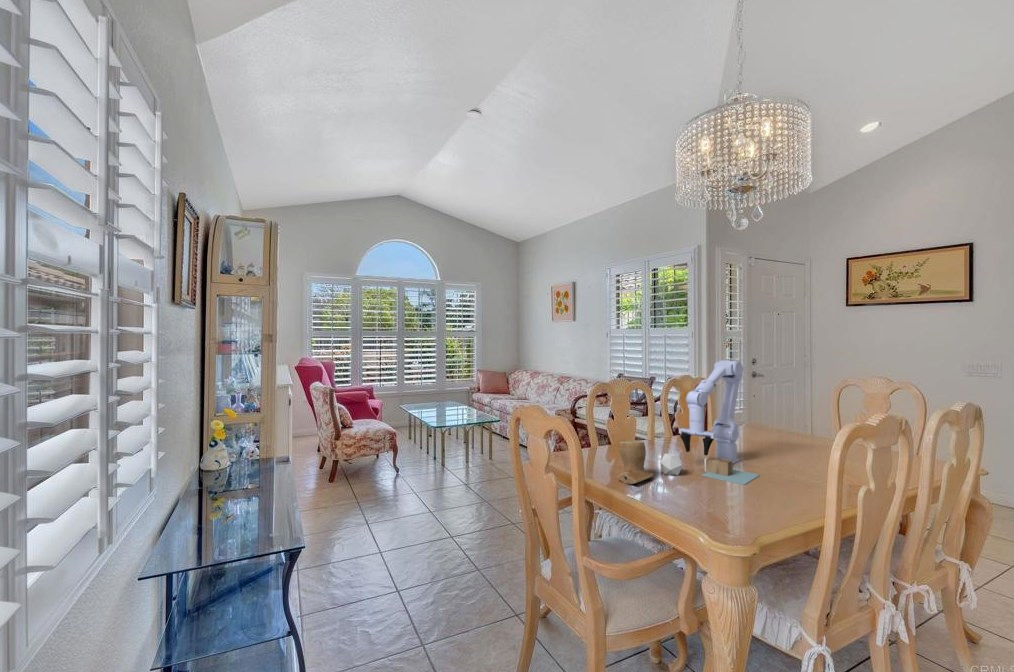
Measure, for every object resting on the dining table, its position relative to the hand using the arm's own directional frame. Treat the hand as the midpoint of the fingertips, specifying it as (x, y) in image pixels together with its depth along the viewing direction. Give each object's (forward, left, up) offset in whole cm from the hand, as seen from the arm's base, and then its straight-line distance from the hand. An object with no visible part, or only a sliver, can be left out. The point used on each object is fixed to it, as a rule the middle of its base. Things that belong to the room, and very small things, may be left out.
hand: (696, 453), depth 193 cm
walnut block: (0, +4, -4) cm, 6 cm away
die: (+14, -4, -7) cm, 16 cm away
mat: (0, +13, -6) cm, 15 cm away
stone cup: (+31, -11, -7) cm, 34 cm away
